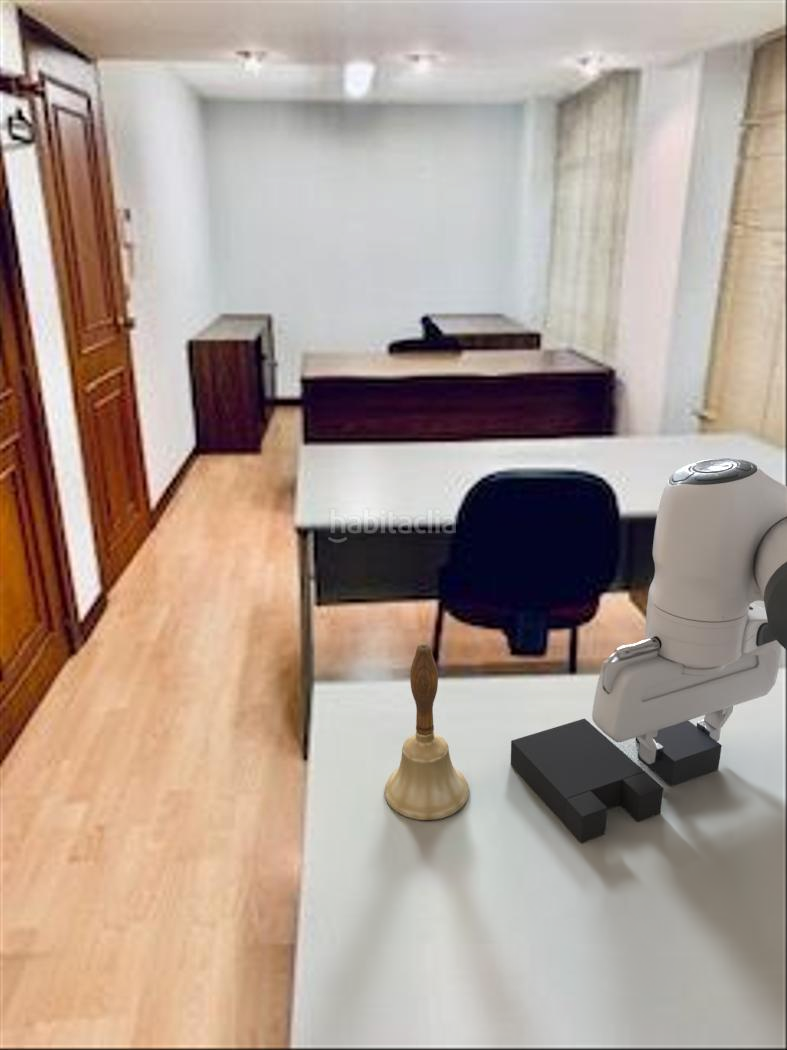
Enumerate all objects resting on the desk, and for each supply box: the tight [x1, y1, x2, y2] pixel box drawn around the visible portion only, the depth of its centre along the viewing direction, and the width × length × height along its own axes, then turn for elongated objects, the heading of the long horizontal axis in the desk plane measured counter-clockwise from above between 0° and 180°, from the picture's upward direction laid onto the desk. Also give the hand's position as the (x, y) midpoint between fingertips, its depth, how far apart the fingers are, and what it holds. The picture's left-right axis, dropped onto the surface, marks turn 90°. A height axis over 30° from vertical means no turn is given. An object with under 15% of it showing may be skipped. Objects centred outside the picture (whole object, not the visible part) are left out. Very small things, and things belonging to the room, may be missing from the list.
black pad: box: [510, 718, 664, 844], centre depth 74 cm, size 9×12×3 cm
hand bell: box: [384, 643, 470, 821], centre depth 72 cm, size 8×8×16 cm
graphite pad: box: [634, 720, 723, 787], centre depth 78 cm, size 6×7×3 cm
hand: (679, 749), depth 77 cm, fingers closed on graphite pad, 6 cm apart
